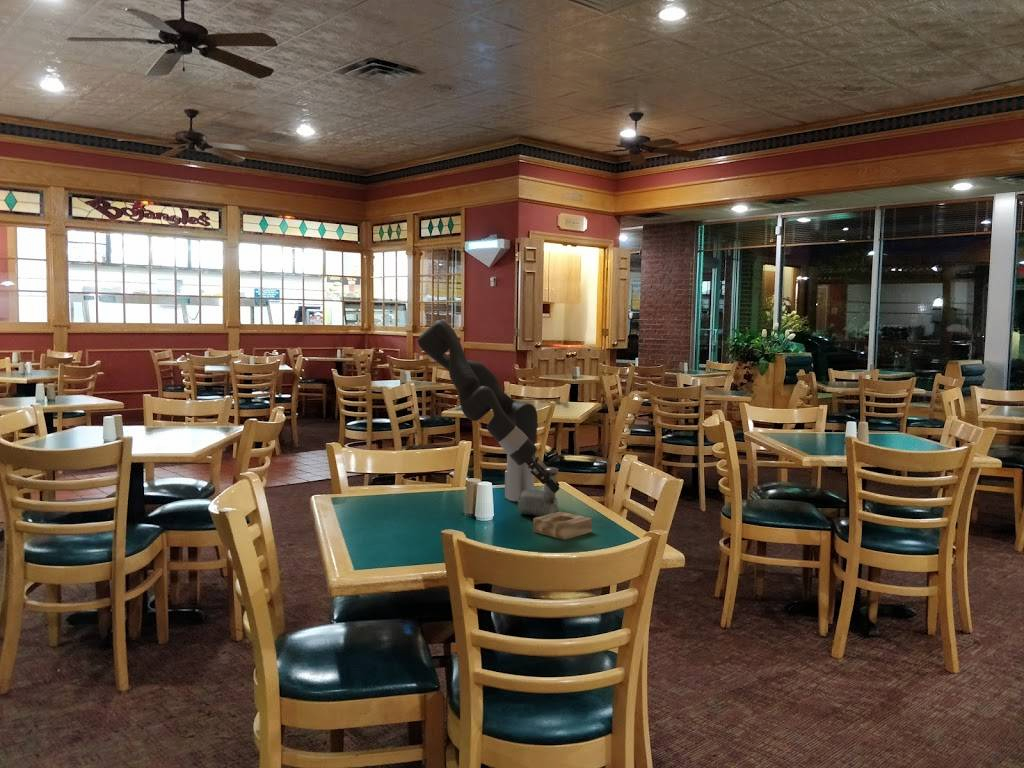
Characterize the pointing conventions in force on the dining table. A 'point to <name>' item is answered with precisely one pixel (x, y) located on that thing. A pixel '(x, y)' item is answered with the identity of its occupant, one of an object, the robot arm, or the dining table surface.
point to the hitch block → (562, 525)
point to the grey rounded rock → (535, 503)
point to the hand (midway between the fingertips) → (556, 488)
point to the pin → (548, 494)
